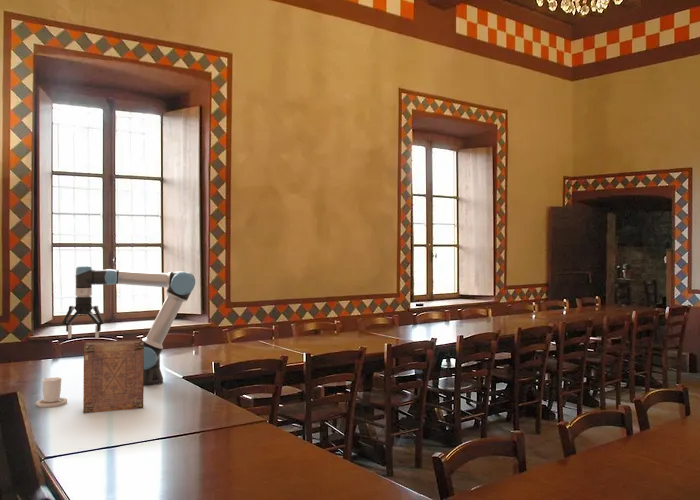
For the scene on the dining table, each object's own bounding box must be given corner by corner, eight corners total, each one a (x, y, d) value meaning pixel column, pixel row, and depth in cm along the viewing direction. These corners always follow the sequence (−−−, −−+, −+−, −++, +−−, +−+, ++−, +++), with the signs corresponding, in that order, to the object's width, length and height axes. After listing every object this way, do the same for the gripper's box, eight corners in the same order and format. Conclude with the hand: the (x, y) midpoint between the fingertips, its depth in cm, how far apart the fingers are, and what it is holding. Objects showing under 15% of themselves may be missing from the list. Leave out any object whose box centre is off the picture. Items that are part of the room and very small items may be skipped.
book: (82, 413, 277) (83, 344, 277) (83, 408, 285) (83, 342, 285) (143, 408, 286) (144, 342, 286) (142, 403, 294) (142, 339, 294)
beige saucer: (71, 400, 300) (71, 397, 300) (60, 407, 287) (60, 403, 287) (43, 400, 299) (43, 397, 299) (31, 407, 286) (31, 404, 286)
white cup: (43, 399, 295) (43, 377, 295) (61, 398, 298) (61, 376, 298) (41, 403, 288) (41, 381, 288) (60, 401, 291) (60, 380, 291)
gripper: (55, 296, 317) (55, 339, 317) (106, 296, 318) (105, 339, 318) (61, 295, 324) (61, 337, 324) (111, 295, 326) (110, 337, 325)
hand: (83, 338), depth 321 cm, fingers open, 13 cm apart
